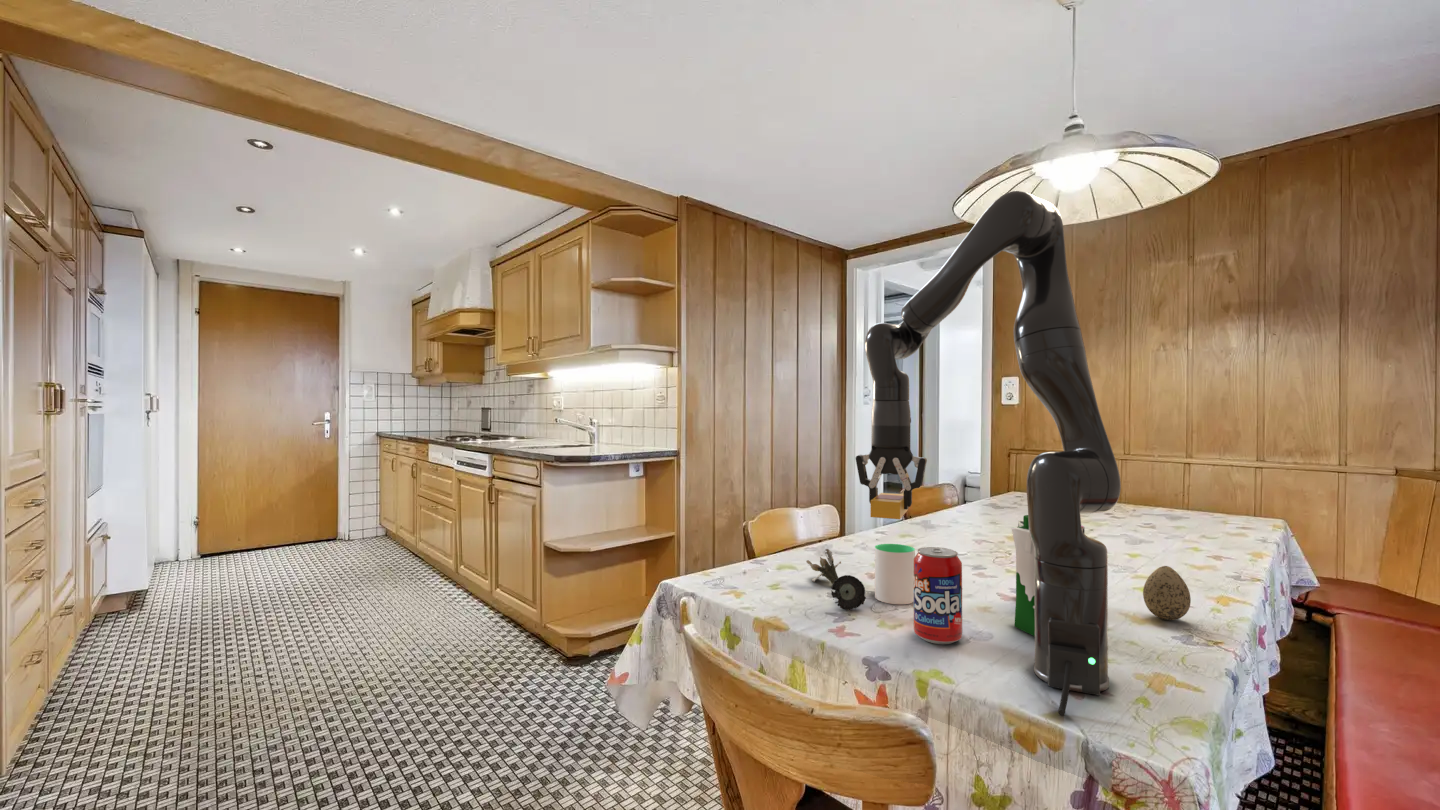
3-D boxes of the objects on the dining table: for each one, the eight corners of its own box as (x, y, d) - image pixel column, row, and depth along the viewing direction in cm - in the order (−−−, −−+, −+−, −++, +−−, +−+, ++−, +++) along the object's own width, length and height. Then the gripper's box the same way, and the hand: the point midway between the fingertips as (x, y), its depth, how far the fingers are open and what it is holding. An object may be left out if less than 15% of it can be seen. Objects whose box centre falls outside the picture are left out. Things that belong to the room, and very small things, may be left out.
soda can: (959, 632, 105) (959, 547, 105) (965, 649, 97) (964, 557, 97) (912, 627, 107) (912, 544, 107) (914, 644, 99) (914, 554, 99)
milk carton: (1045, 621, 110) (1045, 513, 110) (1087, 639, 102) (1087, 522, 102) (1006, 625, 108) (1005, 515, 108) (1045, 644, 99) (1045, 525, 99)
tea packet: (900, 519, 112) (900, 502, 112) (870, 517, 114) (870, 500, 114) (908, 509, 123) (908, 494, 123) (880, 508, 125) (880, 492, 125)
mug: (865, 586, 132) (865, 539, 132) (901, 586, 132) (901, 539, 132) (881, 604, 120) (881, 552, 120) (920, 604, 120) (920, 552, 120)
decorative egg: (1137, 611, 116) (1137, 560, 116) (1180, 615, 114) (1180, 562, 114) (1151, 623, 109) (1151, 569, 109) (1198, 628, 107) (1197, 572, 107)
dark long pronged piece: (826, 617, 116) (811, 566, 117) (814, 595, 138) (802, 552, 140) (870, 605, 116) (855, 554, 117) (851, 584, 138) (839, 542, 139)
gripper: (850, 423, 119) (850, 508, 119) (926, 424, 113) (926, 513, 113) (858, 422, 125) (858, 502, 125) (930, 423, 119) (930, 507, 120)
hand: (890, 507), depth 119 cm, fingers closed on tea packet, 5 cm apart
